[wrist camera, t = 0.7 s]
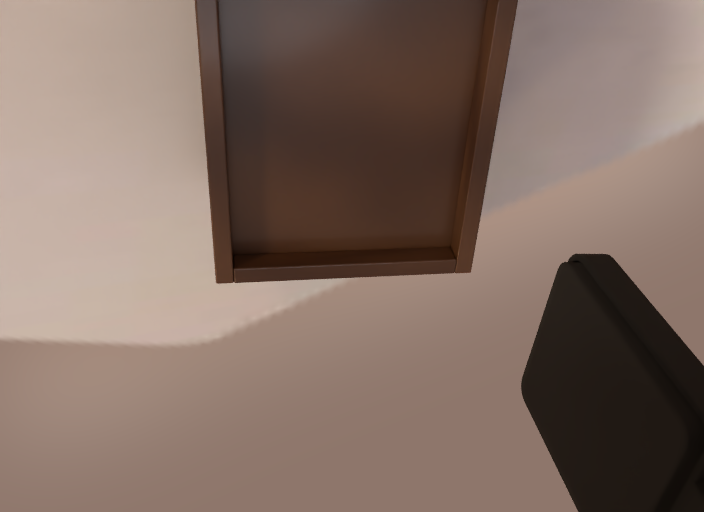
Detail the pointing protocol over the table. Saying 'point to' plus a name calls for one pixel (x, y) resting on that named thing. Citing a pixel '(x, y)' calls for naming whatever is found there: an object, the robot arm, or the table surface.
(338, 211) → the rack
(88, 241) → the table surface
